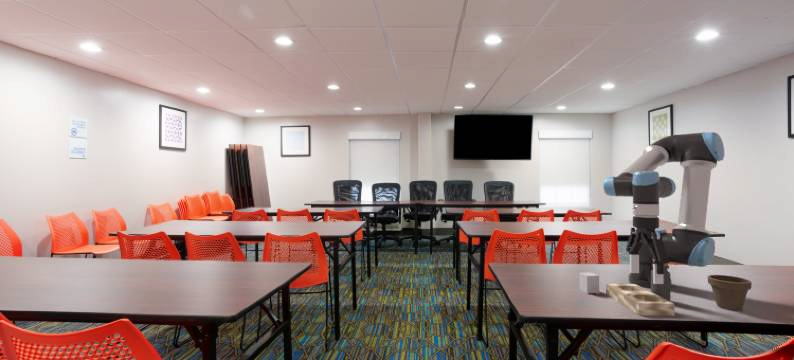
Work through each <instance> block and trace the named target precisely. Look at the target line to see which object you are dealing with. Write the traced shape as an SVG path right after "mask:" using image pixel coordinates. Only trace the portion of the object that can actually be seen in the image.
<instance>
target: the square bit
mask: <svg viewBox="0 0 794 360" xmlns="http://www.w3.org/2000/svg"><path fill="white" fill-rule="evenodd" d="M581 290H582V291H581ZM579 291H581V292H583V291H584V292H583V293H585V292H586V293H585V294H587V293H596V294H600V275H599V274H596V273H593V272H591V271H589V272H588V271H587V272H579Z"/></svg>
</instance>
